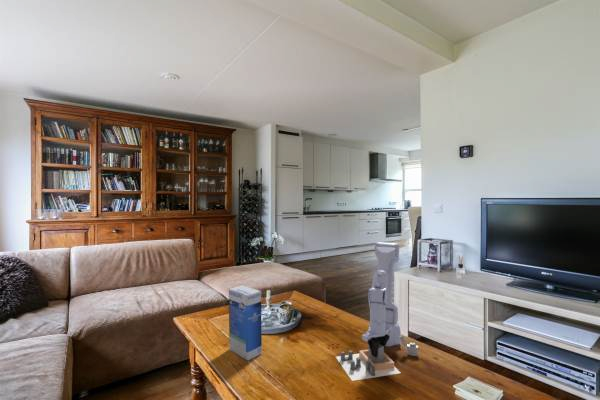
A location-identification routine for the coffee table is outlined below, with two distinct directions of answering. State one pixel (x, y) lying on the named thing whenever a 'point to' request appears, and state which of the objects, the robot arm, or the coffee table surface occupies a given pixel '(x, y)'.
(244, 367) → the coffee table surface
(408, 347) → the lighter
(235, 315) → the string lights box
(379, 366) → the frame
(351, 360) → the board
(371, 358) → the block
